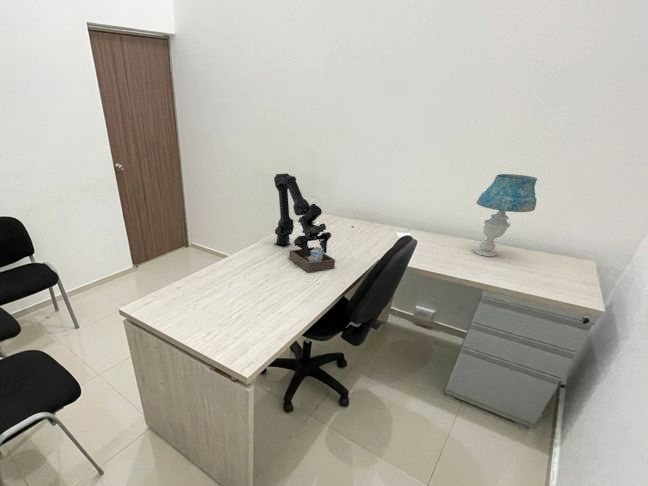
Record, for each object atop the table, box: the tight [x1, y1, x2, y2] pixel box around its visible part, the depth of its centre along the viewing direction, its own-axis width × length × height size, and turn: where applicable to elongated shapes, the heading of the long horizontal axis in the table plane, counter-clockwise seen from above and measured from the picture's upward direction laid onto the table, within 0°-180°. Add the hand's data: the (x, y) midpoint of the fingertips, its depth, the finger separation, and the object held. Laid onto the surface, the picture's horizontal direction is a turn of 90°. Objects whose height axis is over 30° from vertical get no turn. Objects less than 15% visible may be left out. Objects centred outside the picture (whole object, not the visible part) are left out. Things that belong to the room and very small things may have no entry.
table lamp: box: [473, 173, 538, 257], centre depth 169 cm, size 24×24×40 cm
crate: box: [288, 246, 336, 273], centre depth 167 cm, size 19×15×4 cm
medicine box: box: [308, 246, 324, 263], centre depth 163 cm, size 8×4×9 cm, turn 144°
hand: (317, 254), depth 161 cm, fingers closed on medicine box, 9 cm apart
